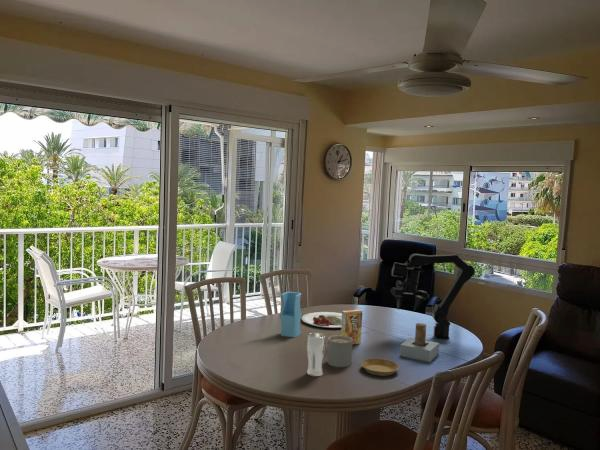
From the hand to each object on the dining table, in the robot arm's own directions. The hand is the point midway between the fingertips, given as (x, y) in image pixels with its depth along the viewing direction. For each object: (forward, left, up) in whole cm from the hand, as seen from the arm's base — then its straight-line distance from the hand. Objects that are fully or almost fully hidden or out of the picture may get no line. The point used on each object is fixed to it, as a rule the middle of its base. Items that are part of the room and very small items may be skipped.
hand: (406, 309), depth 239 cm
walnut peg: (-3, +29, -12) cm, 32 cm away
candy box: (+27, +19, -13) cm, 36 cm away
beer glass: (+41, +59, -13) cm, 74 cm away
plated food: (+38, -16, -13) cm, 43 cm away
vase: (+56, +11, -13) cm, 59 cm away
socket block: (-3, +29, -13) cm, 32 cm away
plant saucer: (+16, +51, -13) cm, 56 cm away
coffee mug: (+31, +44, -13) cm, 56 cm away
